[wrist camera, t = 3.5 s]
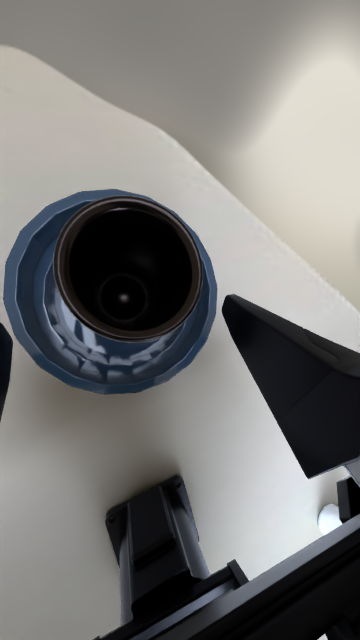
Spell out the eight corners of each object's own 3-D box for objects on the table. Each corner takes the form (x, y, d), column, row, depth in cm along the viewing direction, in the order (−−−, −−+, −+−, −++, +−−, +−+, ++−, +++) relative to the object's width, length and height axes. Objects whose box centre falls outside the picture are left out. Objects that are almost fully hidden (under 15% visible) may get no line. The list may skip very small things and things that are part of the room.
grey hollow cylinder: (162, 289, 17) (226, 250, 7) (134, 337, 16) (164, 368, 7) (111, 258, 16) (105, 160, 6) (80, 309, 15) (15, 294, 5)
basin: (206, 348, 19) (234, 357, 14) (64, 396, 15) (44, 427, 11) (174, 215, 18) (193, 182, 13) (13, 235, 14) (-32, 199, 10)
